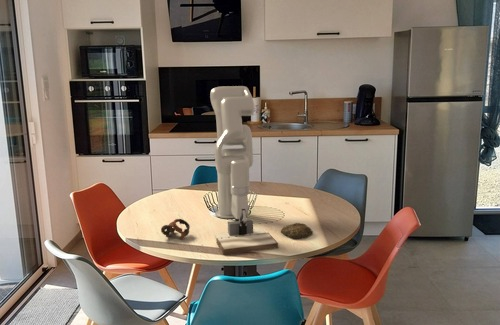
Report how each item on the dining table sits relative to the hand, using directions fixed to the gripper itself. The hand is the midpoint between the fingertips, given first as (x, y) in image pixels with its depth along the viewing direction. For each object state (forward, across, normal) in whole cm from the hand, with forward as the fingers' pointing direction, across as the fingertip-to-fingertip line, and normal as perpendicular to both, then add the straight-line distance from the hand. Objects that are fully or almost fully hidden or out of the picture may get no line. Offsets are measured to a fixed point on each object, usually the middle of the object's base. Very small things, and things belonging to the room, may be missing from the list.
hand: (240, 231), depth 196 cm
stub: (+2, 0, 0) cm, 2 cm away
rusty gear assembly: (+3, -9, -26) cm, 28 cm away
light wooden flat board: (+3, +9, 0) cm, 10 cm away
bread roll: (+3, +3, +24) cm, 24 cm away
